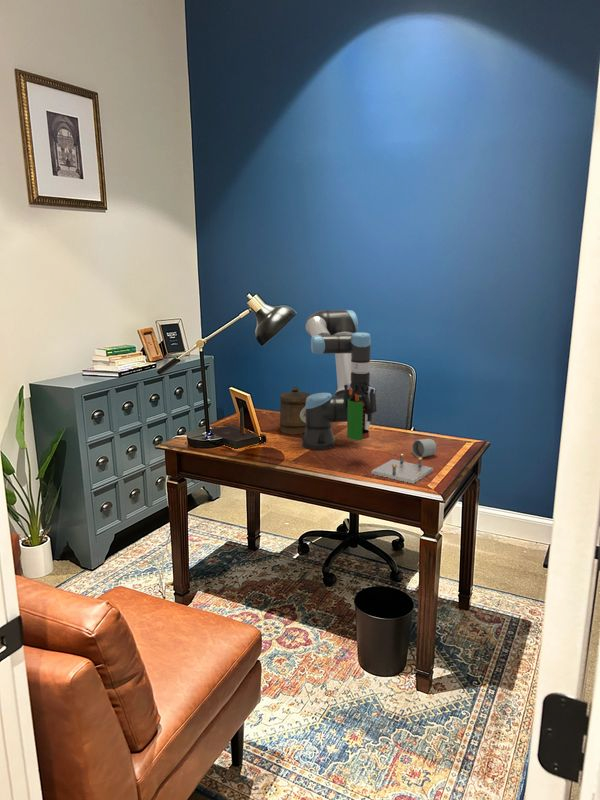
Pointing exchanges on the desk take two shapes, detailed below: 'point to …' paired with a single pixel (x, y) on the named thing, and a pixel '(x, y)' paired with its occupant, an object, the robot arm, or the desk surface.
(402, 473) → the mounting plate
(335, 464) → the desk surface
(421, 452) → the ceramic mug
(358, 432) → the motor
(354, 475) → the desk surface
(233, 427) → the diary
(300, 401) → the wooden container
